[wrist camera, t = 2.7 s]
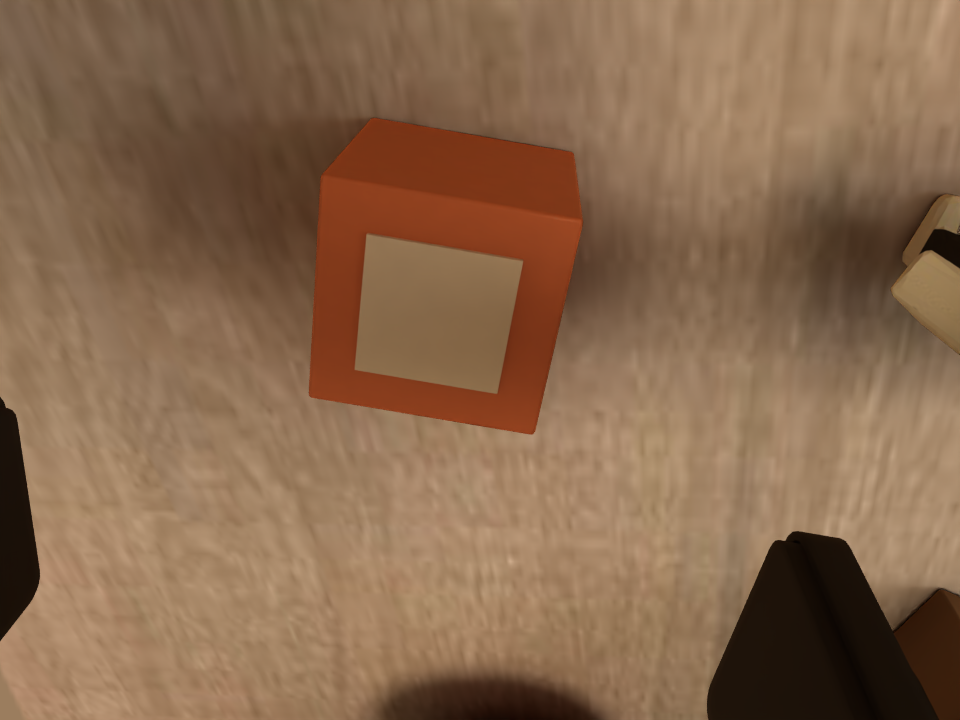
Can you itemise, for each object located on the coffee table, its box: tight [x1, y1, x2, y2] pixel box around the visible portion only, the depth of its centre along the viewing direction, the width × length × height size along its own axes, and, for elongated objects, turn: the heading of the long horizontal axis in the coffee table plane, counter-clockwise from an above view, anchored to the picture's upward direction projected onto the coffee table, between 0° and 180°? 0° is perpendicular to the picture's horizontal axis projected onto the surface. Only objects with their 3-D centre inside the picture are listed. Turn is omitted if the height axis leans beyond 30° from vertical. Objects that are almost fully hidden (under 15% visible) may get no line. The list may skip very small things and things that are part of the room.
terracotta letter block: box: [309, 118, 583, 434], centre depth 17 cm, size 5×5×5 cm
